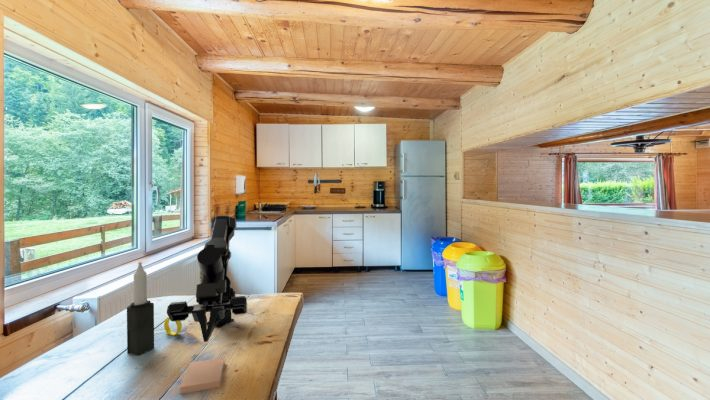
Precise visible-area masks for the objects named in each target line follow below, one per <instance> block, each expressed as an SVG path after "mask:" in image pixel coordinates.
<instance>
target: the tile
mask: <svg viewBox="0 0 710 400" xmlns="http://www.w3.org/2000/svg"><path fill="white" fill-rule="evenodd" d="M225 360H226V359H225V357H219V358H212V359H205V360H198V361H192V362H189V364H188V367H187V370H186V372H185V374H184V376H183V379H182V381H181V384H180V386H179V394H180V395H182V394H188V393H193V392H198V391H204V390H210V389H216V388H215V387H217V388H221V387H220V385H221V382H222V377H223V374H224V373H223V372H224V368H225V363H226V361H225Z"/></svg>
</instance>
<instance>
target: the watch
mask: <svg viewBox="0 0 710 400" xmlns="http://www.w3.org/2000/svg"><path fill="white" fill-rule="evenodd" d="M170 321H171V320H170V318H169V317H168V316H167V317H166V319H165V320H164V322H163V327H164V330H165V333H166V334H167V335H169V336H173V337H175V336H177V335H179V334H180V333H181V332H182V329H183V326H182V321H174V322H175V324H176V332H175V331H172V330H171V328H170Z"/></svg>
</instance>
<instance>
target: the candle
mask: <svg viewBox="0 0 710 400" xmlns="http://www.w3.org/2000/svg"><path fill="white" fill-rule="evenodd" d="M142 264H143V262H142V261H139V262H138V266H137V268H136V271H135V272H134V274H133V302H131V303H130V304H129V305H128V306H127V307H126V337H127V338H126V341H127V344H126V348H127V349H126V353H127V354H130V355H134V356H142V355H143V354H146V353H147V352H150V351H151V350H153V349H154V348H155V306H154V305H155V304H154V303H153V302H151V300H148V296H147V295H148V294H147V293H148V290H147V289H148V287H147V286H148V284H147V283H148V281H147V278H148V277H147V272H146V271H145V269H144V268H143V265H142Z"/></svg>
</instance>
